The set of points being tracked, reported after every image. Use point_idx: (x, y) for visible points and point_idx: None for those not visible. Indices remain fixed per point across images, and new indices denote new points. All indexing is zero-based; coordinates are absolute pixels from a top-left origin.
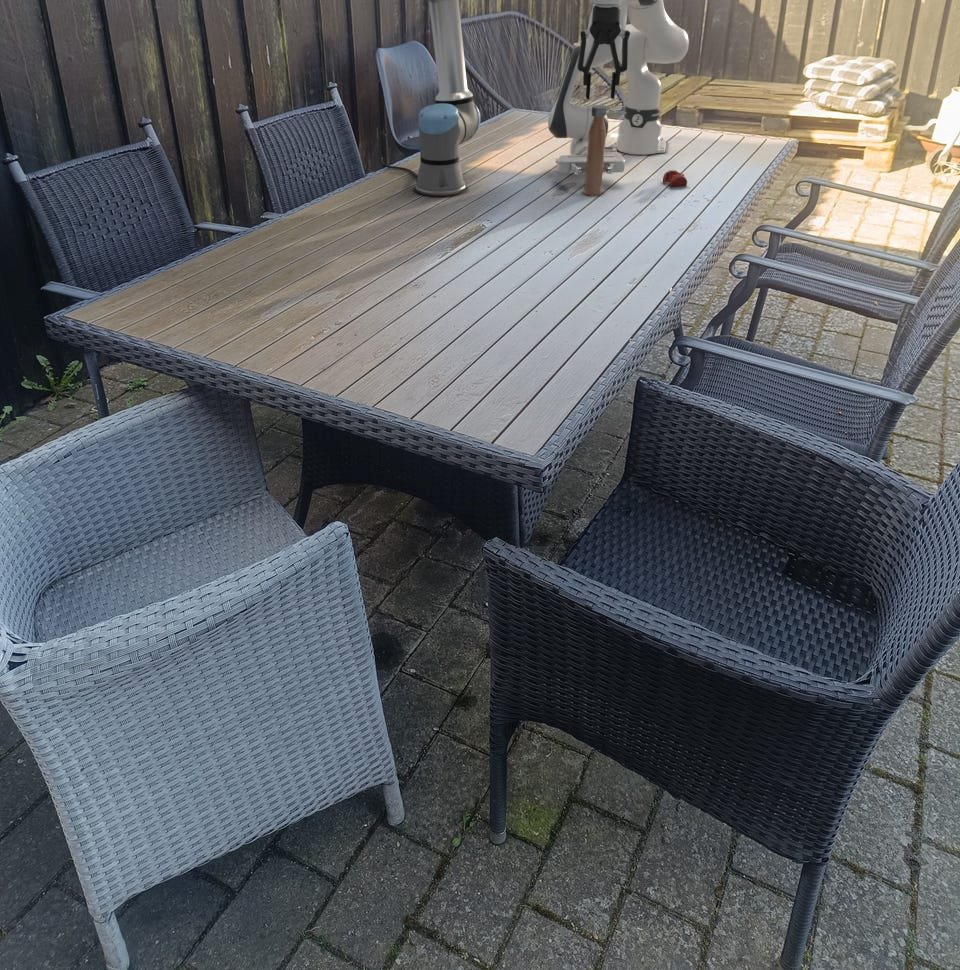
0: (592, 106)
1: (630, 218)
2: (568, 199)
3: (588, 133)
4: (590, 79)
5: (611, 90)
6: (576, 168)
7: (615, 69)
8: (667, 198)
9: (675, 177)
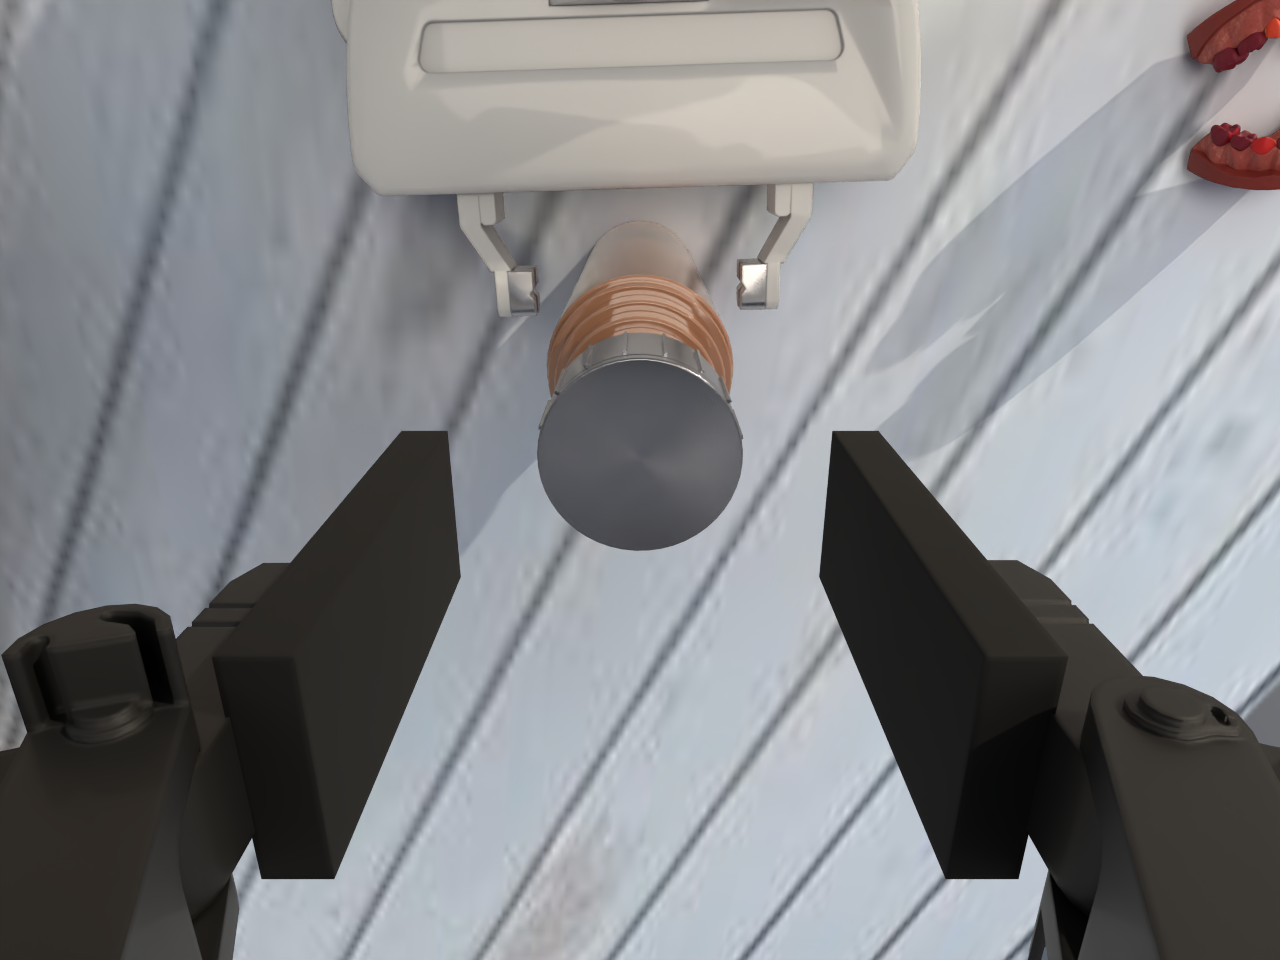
0: (541, 446)
1: (779, 693)
2: (481, 400)
3: (547, 365)
4: (368, 779)
5: (854, 538)
6: (499, 313)
7: (1091, 770)
8: (1082, 384)
9: (1265, 166)
